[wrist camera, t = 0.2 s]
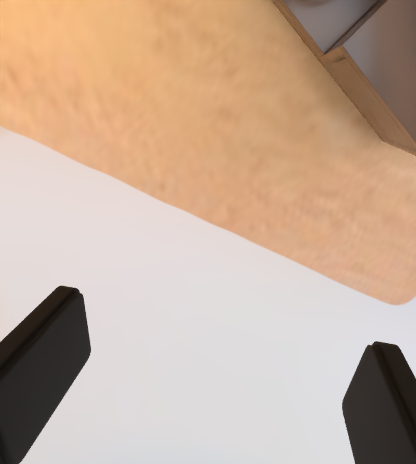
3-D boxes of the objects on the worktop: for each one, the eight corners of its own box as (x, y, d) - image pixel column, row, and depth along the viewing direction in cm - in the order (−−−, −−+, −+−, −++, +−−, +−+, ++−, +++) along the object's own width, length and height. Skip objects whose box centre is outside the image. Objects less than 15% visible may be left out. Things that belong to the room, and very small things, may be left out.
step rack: (335, -143, 25) (395, -338, 14) (476, 70, 30) (610, 59, 18) (247, -30, 29) (237, -106, 18) (383, 141, 34) (444, 168, 22)
